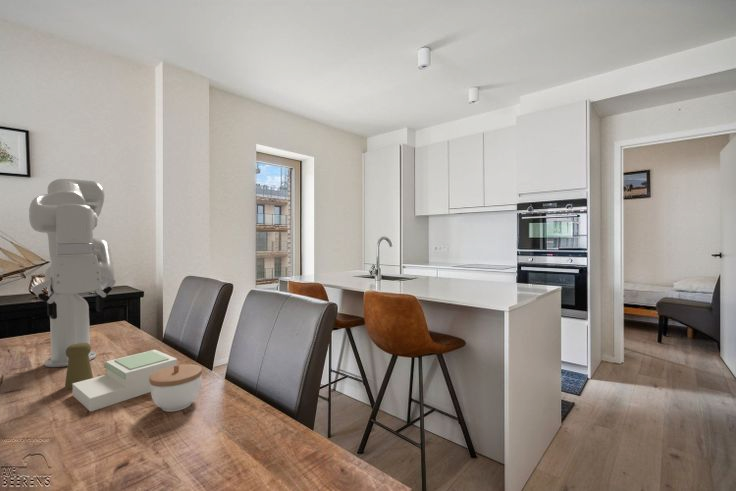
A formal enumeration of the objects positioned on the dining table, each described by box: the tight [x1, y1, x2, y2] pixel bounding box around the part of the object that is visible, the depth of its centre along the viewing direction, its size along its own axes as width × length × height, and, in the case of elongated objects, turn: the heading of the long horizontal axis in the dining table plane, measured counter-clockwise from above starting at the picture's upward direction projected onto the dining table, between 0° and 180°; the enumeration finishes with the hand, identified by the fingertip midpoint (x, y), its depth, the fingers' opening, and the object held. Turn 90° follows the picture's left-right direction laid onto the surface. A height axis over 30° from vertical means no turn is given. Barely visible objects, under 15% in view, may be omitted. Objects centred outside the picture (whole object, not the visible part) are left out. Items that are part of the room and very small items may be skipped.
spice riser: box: [72, 349, 179, 412], centre depth 90 cm, size 14×19×7 cm
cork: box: [64, 343, 94, 390], centre depth 93 cm, size 6×6×11 cm
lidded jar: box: [149, 363, 203, 413], centre depth 81 cm, size 11×11×9 cm
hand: (77, 314), depth 93 cm, fingers open, 9 cm apart
